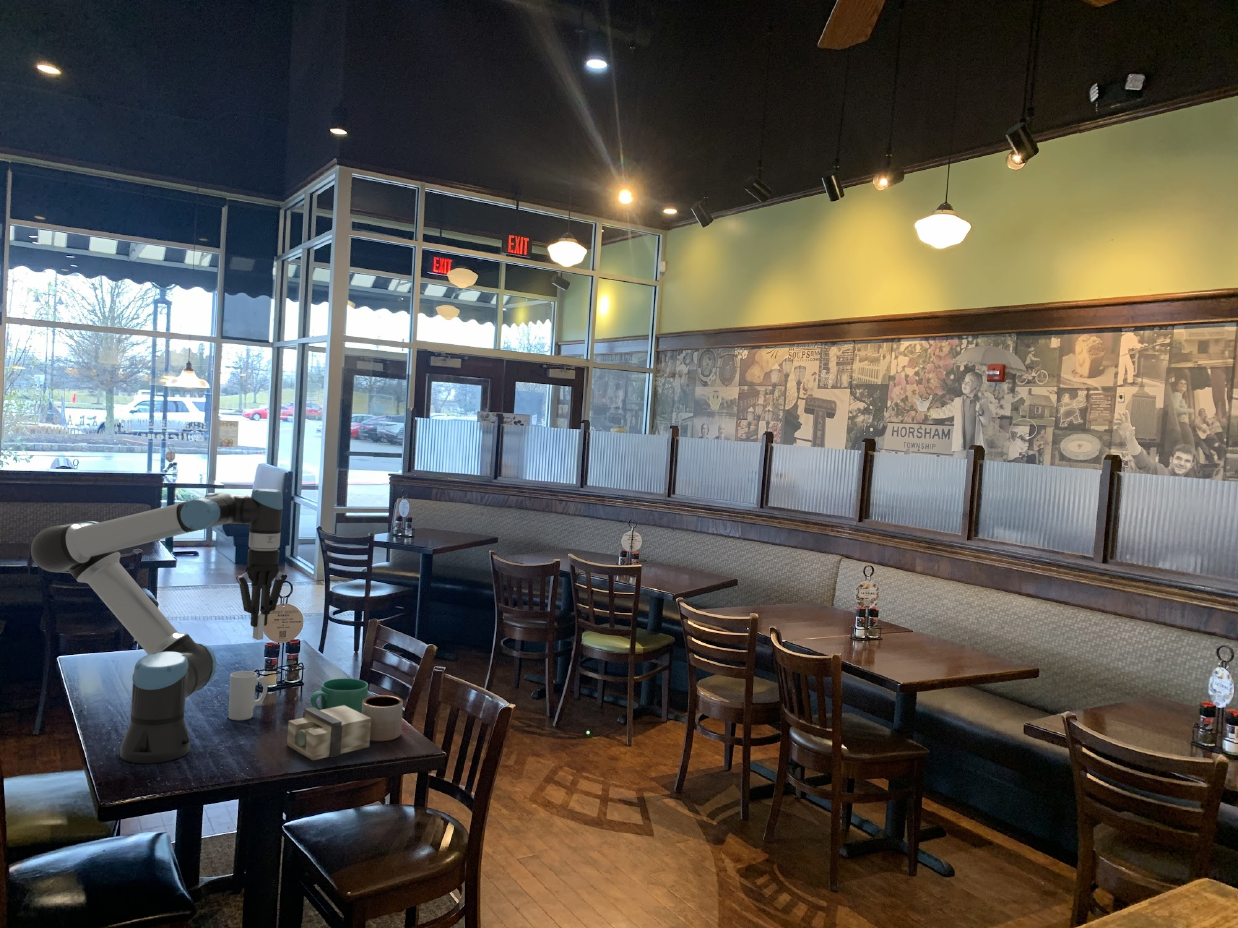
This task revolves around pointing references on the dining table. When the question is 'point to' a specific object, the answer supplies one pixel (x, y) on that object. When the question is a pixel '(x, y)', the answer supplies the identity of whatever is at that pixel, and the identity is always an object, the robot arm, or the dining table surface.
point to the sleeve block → (330, 732)
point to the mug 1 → (244, 694)
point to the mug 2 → (341, 694)
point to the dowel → (304, 735)
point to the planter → (383, 717)
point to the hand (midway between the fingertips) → (257, 638)
